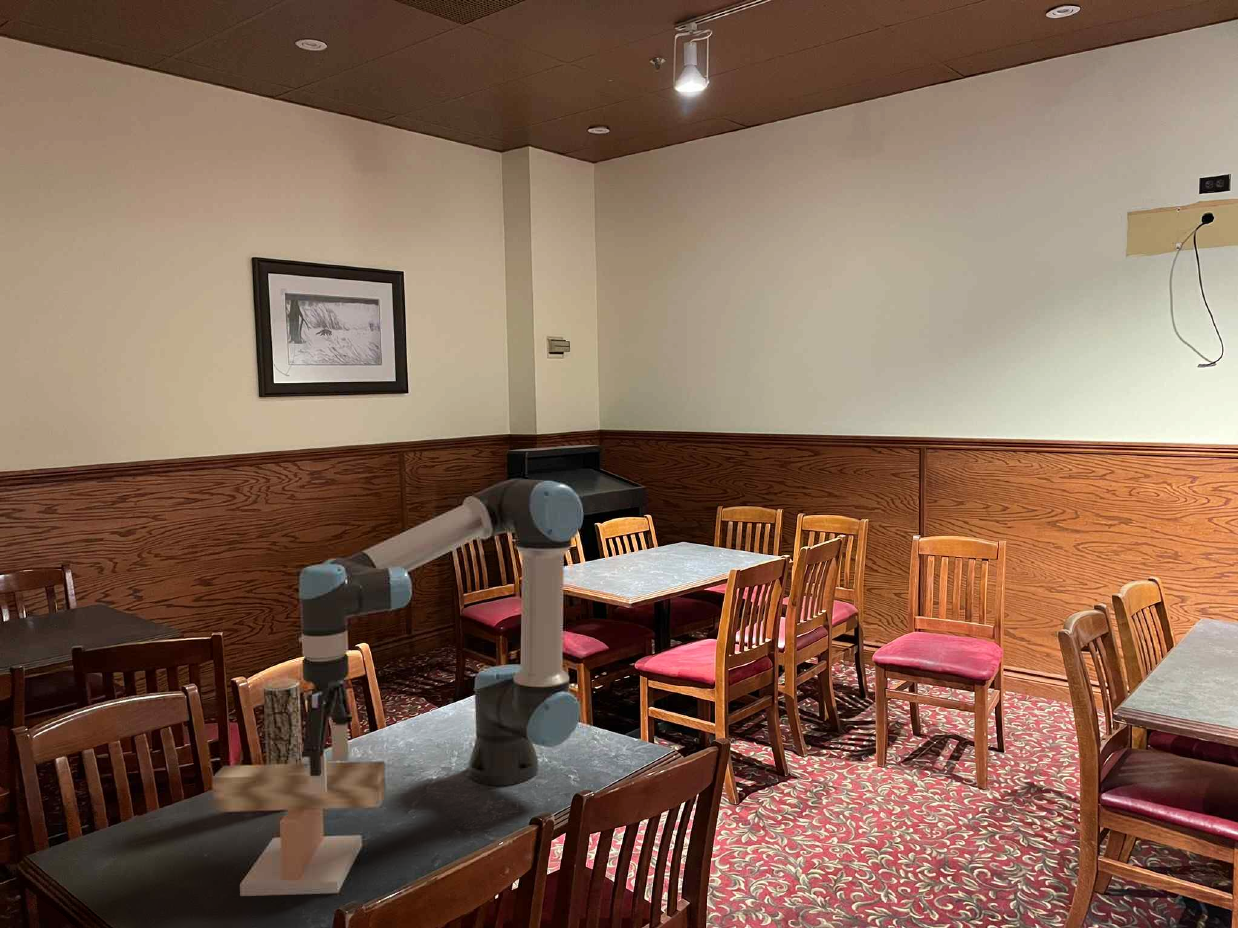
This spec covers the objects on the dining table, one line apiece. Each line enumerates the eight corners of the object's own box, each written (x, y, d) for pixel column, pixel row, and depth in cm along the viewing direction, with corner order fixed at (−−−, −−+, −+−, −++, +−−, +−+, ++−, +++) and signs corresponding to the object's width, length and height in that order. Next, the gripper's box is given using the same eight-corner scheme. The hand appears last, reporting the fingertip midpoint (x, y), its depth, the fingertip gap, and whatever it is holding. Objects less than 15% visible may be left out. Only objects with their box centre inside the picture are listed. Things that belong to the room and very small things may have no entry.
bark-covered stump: (292, 811, 181) (287, 688, 179) (261, 808, 183) (256, 687, 181) (310, 796, 188) (305, 678, 186) (280, 794, 189) (275, 676, 187)
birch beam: (385, 794, 161) (384, 761, 160) (379, 806, 156) (378, 772, 155) (225, 798, 160) (223, 765, 159) (213, 811, 155) (211, 777, 154)
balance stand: (361, 845, 167) (359, 782, 166) (337, 892, 151) (335, 822, 150) (273, 848, 166) (271, 784, 166) (240, 895, 151) (237, 825, 150)
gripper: (324, 636, 168) (328, 748, 170) (278, 678, 144) (283, 808, 145) (365, 635, 169) (368, 747, 170) (326, 676, 144) (331, 806, 145)
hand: (329, 775), depth 158 cm, fingers open, 13 cm apart
